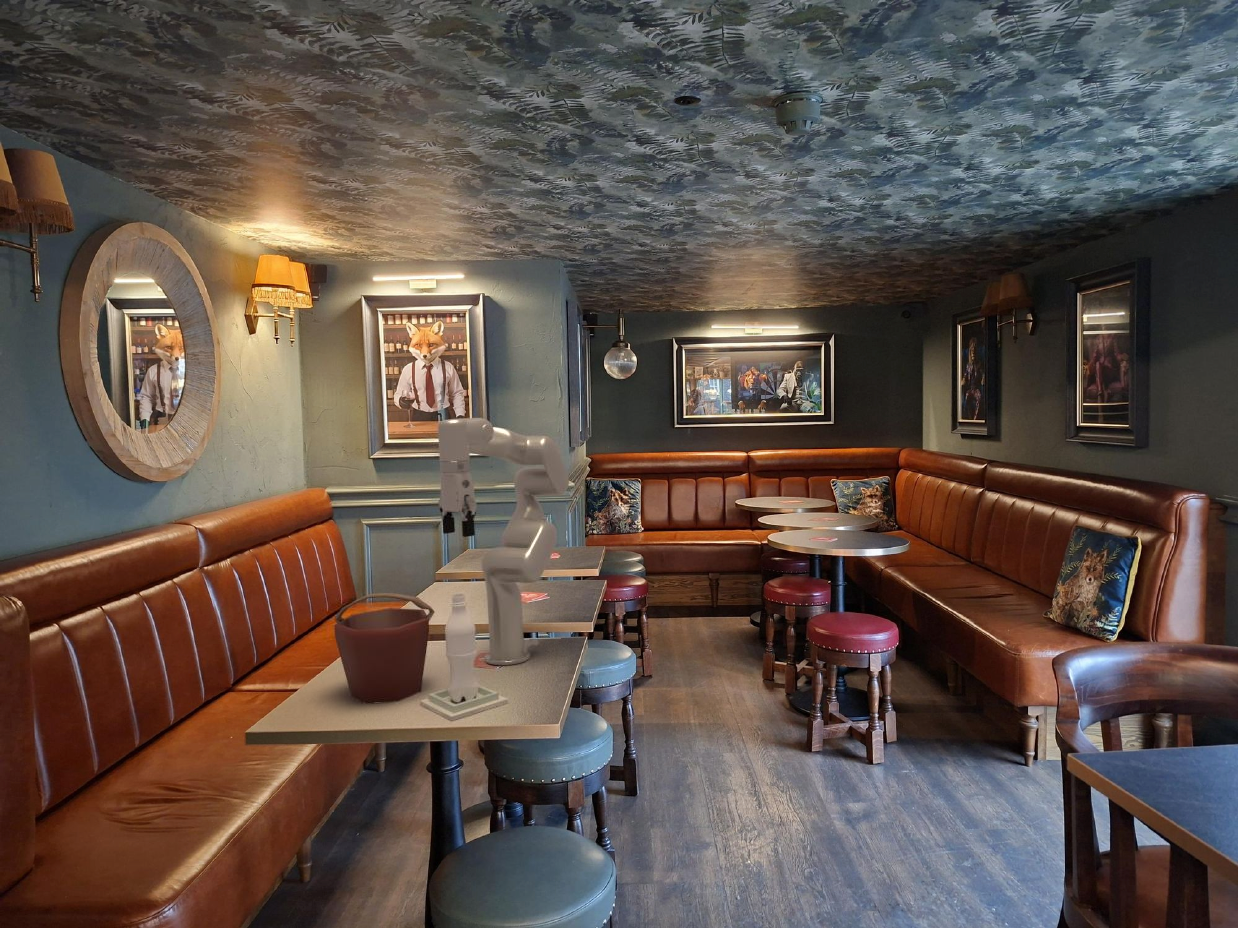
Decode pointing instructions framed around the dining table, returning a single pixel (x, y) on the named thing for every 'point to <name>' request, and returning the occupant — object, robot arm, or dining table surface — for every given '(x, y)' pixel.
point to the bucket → (384, 649)
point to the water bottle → (461, 651)
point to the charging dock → (462, 703)
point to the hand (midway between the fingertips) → (458, 534)
